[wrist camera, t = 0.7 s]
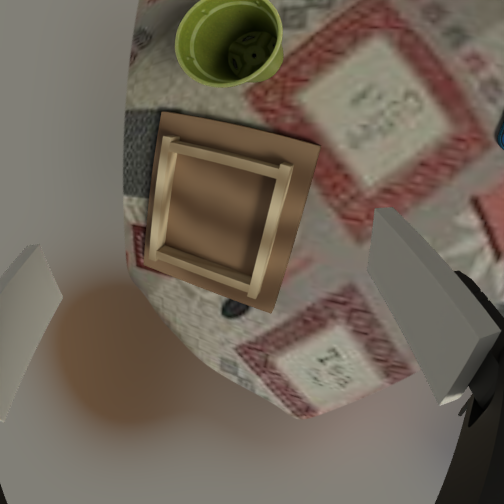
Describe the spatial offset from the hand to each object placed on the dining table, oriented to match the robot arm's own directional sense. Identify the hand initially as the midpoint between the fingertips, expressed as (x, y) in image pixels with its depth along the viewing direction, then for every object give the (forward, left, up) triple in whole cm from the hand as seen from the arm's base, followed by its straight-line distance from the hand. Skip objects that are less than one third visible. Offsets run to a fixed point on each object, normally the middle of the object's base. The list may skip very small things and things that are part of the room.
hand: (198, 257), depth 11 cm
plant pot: (-11, -8, -24) cm, 27 cm away
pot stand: (+7, -8, -24) cm, 26 cm away
